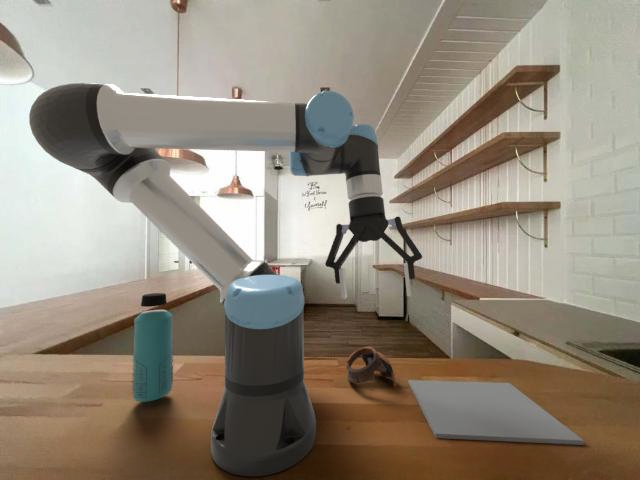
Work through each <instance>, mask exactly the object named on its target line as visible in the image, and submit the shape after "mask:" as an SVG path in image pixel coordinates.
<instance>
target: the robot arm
mask: <svg viewBox="0 0 640 480" xmlns="http://www.w3.org/2000/svg"><path fill="white" fill-rule="evenodd" d="M28 118H29V128H30V130H31V133H32V135H33V136H34V139H35V140H36V142H37V143H38V145H39V146H40V147H41V148H42V149H43V150H44V151H45V152H46V153H47V154H49V155H50V156H51V157H52V158H53V159H55V160H57V161H58V162H60V163H61V164H64V165H67V166H68V167H71V168H74V169H76V170H79V171H81V172H82V173H85V174H87V175H90V176H91V177H92V178H93V179H95V180H96V181H97V182H98V183H99V184H100V185H101V186H102V187H103V188H104V189H105V191H107V192H108V193H109V194H110V195H111V196H113V198H114V199H115V200H116V201H118V202H121V203H129V204H131V203H132V204H133V206H135V208H137V209H138V210H139V211H140V212H141V213H142V214H143V215H144V216H145V217H146V218H147V220H149V222H151V223H152V224H153V225H154V226H155V228H157V229H158V230H159V231H160V233H162V234H163V235H164V236H165V237H166V238H167V239H168V240H169V241H170V242H171V243H172V244H173V245H174V246H175V248H177V249H178V250H179V251H180V252H181V253H182V254H183V255H184V256H185V257H186V258H187V259H188V260H189V261H190V262H191V263H192V264H193V265H194V266H195V267H196V268H197V269H198V270H199V271H200V272H201V273H202V274H203V275H204V276H205V277H206V278H207V279H208V280H209V281H210V282H211V283H212V284H213V285H214V286H215V287H216V288H217V289H218V290H219V293H220V295H219V296H220V297H219V303H220V304H221V305H222V306H223V309H224V313H225V314H224V321H225V322H224V390H223V393H222V396H221V399H220V402H219V406H218V408H217V411H216V415H215V418H214V421H213V424H212V428H211V433H210V453H211V454H210V455H211V457H212V460H213V461H214V462H215V464H216V465H217V466H218V467H219V468H221V469H222V470H224V471H225V472H228V473H229V474H233V475H237V476H241V477H263V476H269V475H273V474H277V473H280V472H282V471H285V470H287V469H289V468H291V467H293V466H295V465H296V464H297V463H299V462H300V461H302V460H303V459H304V458H305V457H306V456H307V455H308V454H309V452H310V451H311V450H312V449H313V447H314V444H315V442H316V438H317V418H316V414H315V410H314V408H313V404H312V401H311V398H310V395H309V391H308V389H307V386H306V382H305V352H304V351H305V348H304V347H305V344H304V341H305V339H304V332H305V331H304V306H305V301H306V300H305V295H304V290H303V289H304V288H303V284H302V283H301V282H300V280H298V279H297V278H295V277H293V276H287V275H281V274H278V273H277V272H276V271H275V270H274V269H273V268H272V267H271V266H270V265H269V264H268V263H267V262H266V261H265V260H262V259H261V260H260V259H259V260H257V259H252V258H251V256H249V255H248V254H247V252H246V251H245V250H243V248H241V246H240V245H239V244H237V243H236V241H235V240H234V239H233V238H232V236H231V237H230V235H229V234H228V233H227V232H226V231H225V230H224V229H223V228H222V227H221V226H220V225H219V224H218V223H217V222H216V221H215V220H214V219H213V217H211V216H210V215H209V214H208V213H207V212H206V211H205V210H204V209H203V208H202V207H201V206H200V204H198V203H197V202H196V200H194V199H193V198H192V197H191V196H190V194H188V192H187V191H185V190H184V188H183V187H182V186H181V185H179V183H178V182H177V181H175V180H174V178H173V177H172V176H171V165H170V164H169V162H168V161H167V160H166V159H165V158H164V157H163V156H162V155H161V154H160V153H159V152H158V149H160V150H161V149H163V150H164V149H166V150H169V149H171V150H199V151H200V150H201V151H202V150H203V151H205V150H206V151H207V150H208V151H209V150H210V151H241V152H242V151H243V152H246V151H247V152H250V151H251V152H282V153H283V152H284V153H288V164H289V171H290V173H291V175H293V176H296V177H297V176H298V177H299V176H300V177H310V176H311V177H312V176H324V175H340V174H345V175H344V176H345V182H346V183H345V184H346V191H347V199H348V200H349V202H348V213H349V223H348V224H341V223H337V224H336V227H335V231H336V232H335V236H334V238H333V241H332V245H331V246H330V247H331V248H330V250H329V253H328V255H327V257H326V260H325V263H324V264H325V266H326V267H328V268H331V269H333V271H334V272H333V273H334V281H335V283H336V284H339V285H340V297H341V300H346V299H347V298H348V288H347V279H346V270H345V268H344V267H343V268H342V266H343V264H344V263H345V262H346V261H347V259H348V257H349V255H350V254H351V252H353V250H354V249H355V246H356V245H358V243H359V242H361V243H366V242H367V243H368V242H370V241H371V242H377V241H379V240H380V239H382V240H383V241H384V242H385V243H386V244H387V245H388V246H389V247H391V248H392V249H393V251H395V252H396V253H397V254H398V255H399V256H400V257H401V258H403V260H404V261H406V262H405V263H403V270H404V278H405V279H404V281H405V288H406V297H407V298H408V297H412V291H411V283H410V280H415V279H416V278H415V276H416V274H415V266H414V265H415V262H417V261H420V260H422V259H423V255H422V253H421V251H420V250H419V249H418V248H417V246H416V245H415V243H414V241H413V240H412V239H411V237H410V235H409V234H408V233H407V231H406V230H405V228H404V226H403V223H402V219H401V217H400V216H395V217H393V218H390V219H387V218H386V211H385V210H386V209H385V203H384V198H383V197H382V195H383V193H384V192H383V185H382V184H383V183H382V175H381V167H380V156H379V145H378V143H379V142H378V139H377V133H376V130H375V128H374V127H373V126H371V125H370V124H366V123H357V124H355V125H354V118H355V115H354V110H353V107H352V105H351V103H350V102H349V100H348V99H347V98H346V97H345V96H344V95H342V94H341V93H339V92H336V91H333V90H323V91H322V92H319V93H317V94H315V95H314V96H313V97H311V98H310V99H309V101H308V103H304V102H303V103H301V102H300V103H297V102H284V101H283V102H280V101H279V102H278V101H265V100H263V101H261V100H245V99H228V98H213V97H196V96H195V97H194V96H182V95H181V96H178V95H161V94H144V93H130V92H129V93H127V92H125V93H124V91H122V90H121V89H120V88H119V87H117V86H116V85H114V84H111V83H110V84H109V83H91V82H80V83H76V82H75V83H67V84H61V85H58V86H55V87H51V88H49V89H47V90H45V91H44V92H42V93H40V95H38V96H37V97H36V99H35V100H34V102H33V103H32V105H31V106H30V110H29V115H28ZM389 225H390V226H391V227H392V228H393V229H396V230H397V232H398V234H399V235H400V236H401V238H402V239H403V241H404V243H405V244H406V246H407V247H408V248H409V251H410V252H411V253H412V254H413V255H409V254H408V253H407V252H406V251H405V250H404V249H403V248H402V247H401V246H399V245H398V244H397V243H396V241H394V240H393V239H392V238H391V237H390V236H389V235H387V233H386V231H387V228H388V227H389ZM348 230H349V231H350V232H351V234H352V236H351V238H350V240H349V242H348V244H347V245H346V246H345V248H344V249H343V251H342V252H341V254H340V255H339V256H338V258H337V259H336V257H337V255H338V252H339V249H340V247H341V245H342V241H343V239H344V235H345V234H347V232H348ZM335 260H336V261H335Z"/></svg>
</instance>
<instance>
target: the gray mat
mask: <svg viewBox="0 0 640 480" xmlns="http://www.w3.org/2000/svg"><path fill="white" fill-rule="evenodd" d="M407 381H408V383H407V384H408V386H409V387H410V389H411V392H412V393H413V395H414V397H415V399H416V402H417V404H418V405H419V407H420V409H421V412H422V414H423V415H424V418H425V419H426V421H427V424H428V425H429V427H430V430H431V432H432V434H433V436H434V438H436V439H452V440H453V439H454V440H473V441H474V440H475V441H493V442H495V441H496V442H515V443H537V444H554V445H555V444H556V445H575V446H577V445H578V446H584V445H585V443H584V441H585V440H584V439H582V438H581V437H580V436H579V435H577V434H576V433H575V432H573V431H572V430H571V429H569V428H568V427H567V426H565V424H563V423H562V422H560V421H559V419H557V418H555V417H554V416H553V415H551V414H550V413H549V412H548V411H546V410H545V409H544V408H543V407H541V406H540V405H538V404H537V403H536V402H535V401H533V400H532V399H531V398H529V397H528V396H527V395H526V394H524V393H523V392H522V391H521V390H519V389H518V388H517V387H515V386H514V385H512V384H511V383H510V382H487V381H486V382H485V381H481V382H480V381H454V380H452V381H449V380H448V381H447V380H424V379H423V380H421V379H418V380H415V379H408V380H407Z"/></svg>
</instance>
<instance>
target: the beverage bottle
mask: <svg viewBox="0 0 640 480" xmlns="http://www.w3.org/2000/svg"><path fill="white" fill-rule="evenodd" d="M140 303H141V304H140V306H141V307H143V308H144V307H147V308H149V307H159V306H163V305H167V294H166V293H165V292H164V293H163V292H154V293H153V292H152V293H146V294H142V297H141V302H140ZM173 316H174V315H173V314H172V313H171V312H170V311H168V310H166V309H154V310H146V311H142V312H140V313H139V314H138V315H137V316H136V317H135V318H134V319H133V320H134V321H133V323H134V330H133V331H134V332H133V333H134V334H133V339H134V340H133V355H132V356H133V357H132V358H133V360H132V371H133V373H131V374H132V376H131V377H132V380H131V389H132V390H131V392H132V393H131V394H132V397H133V399H134V401H136V402H141V403H142V402H143V403H144V402H145V403H146V402H153V401H156V400H159V399H161V398H164V397H165V396H167V395H168V394H170V392H171V391H172V389H173V382H174V381H173V380H174V379H173V369H174V365H173V362H174V359H173V358H174V355H173V351H174V347H173V341H174V340H173V318H174V317H173Z"/></svg>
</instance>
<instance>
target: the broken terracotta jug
mask: <svg viewBox="0 0 640 480" xmlns="http://www.w3.org/2000/svg"><path fill="white" fill-rule="evenodd" d="M358 358H361V359H362V361H363V363H364V364H365V366H364V367H362V368H358V369H354V368H352V365H353V363H354V362H355V361H356V360H357V359H358ZM346 363H347V365H346V366H345V368H346V370H347V375H346V376H347V381H348V383H349V384H352V383H353V384H360V383H361V384H363V383H366V382H370V381H371V382H373V383H376V376H375V372H377V373H378V372H379V373H380V377H382V378H383V377H384V378H386V377H387V378H389V379H391V381H392V385H393V386H392V387H394V388H396V387H397V382H396V378H395V377H396V376H395V372H394V370H393V367H392V364H391V363H390V361H389V359H388V358H387V357H386V356H385V355H384V354H383V353H381V352H380V351H377V350H376V348H374V347H373V346H372V345H367V346H364V347H360V348H359V349H356V350H355V351H354V352H352V353H351V354H350V355H349V357H348V358H347V360H346Z"/></svg>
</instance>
